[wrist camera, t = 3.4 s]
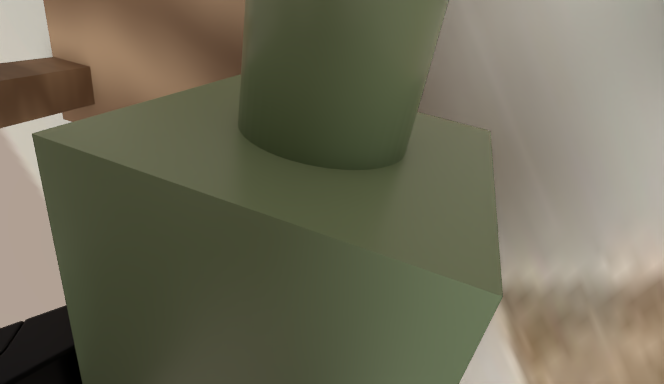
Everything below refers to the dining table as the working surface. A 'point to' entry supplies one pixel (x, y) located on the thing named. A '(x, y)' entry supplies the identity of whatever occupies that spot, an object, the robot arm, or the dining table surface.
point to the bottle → (281, 214)
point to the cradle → (122, 56)
